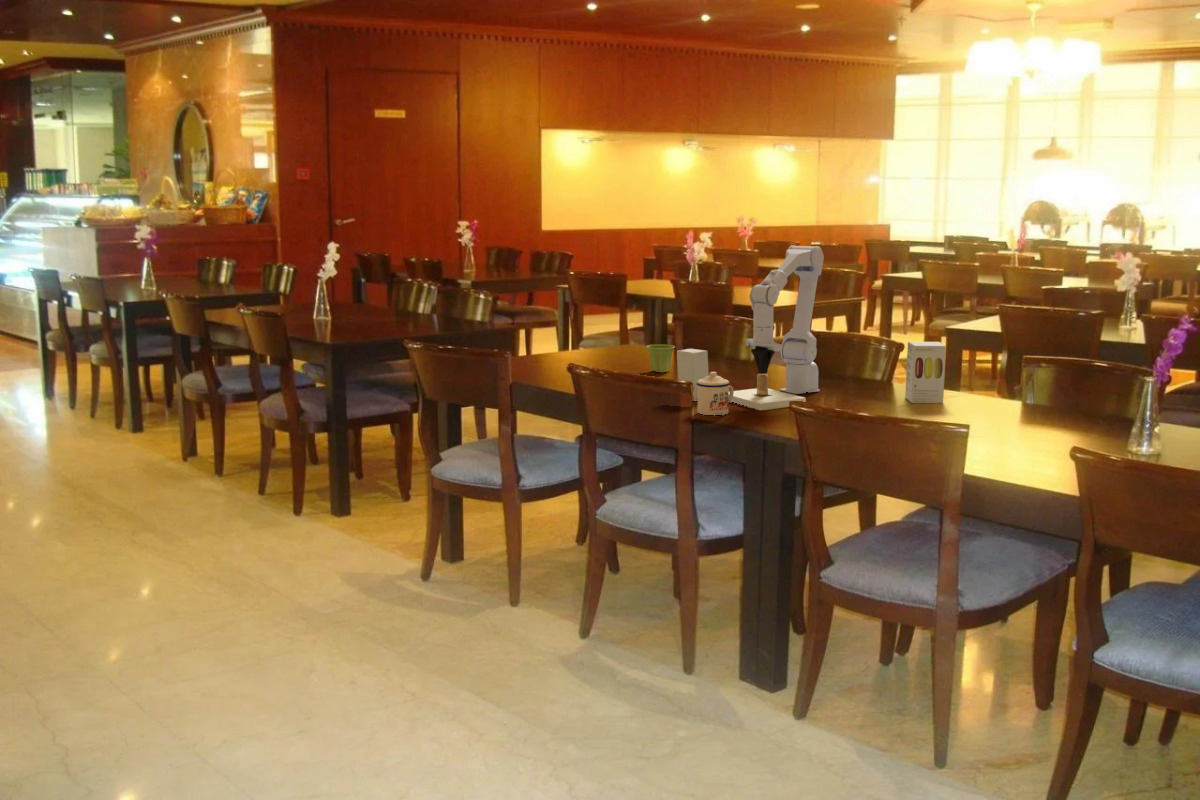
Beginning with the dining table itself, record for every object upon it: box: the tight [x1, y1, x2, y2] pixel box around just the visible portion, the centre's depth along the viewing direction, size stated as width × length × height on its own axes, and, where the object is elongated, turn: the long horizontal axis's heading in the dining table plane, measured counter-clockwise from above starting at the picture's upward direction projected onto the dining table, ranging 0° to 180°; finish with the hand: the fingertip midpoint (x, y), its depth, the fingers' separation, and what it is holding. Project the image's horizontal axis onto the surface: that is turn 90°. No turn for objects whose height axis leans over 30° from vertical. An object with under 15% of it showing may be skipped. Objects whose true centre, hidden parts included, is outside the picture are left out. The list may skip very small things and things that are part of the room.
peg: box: [756, 373, 769, 397], centre depth 351 cm, size 3×3×8 cm
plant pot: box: [646, 344, 676, 373], centre depth 406 cm, size 9×9×9 cm
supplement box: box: [904, 341, 947, 404], centre depth 350 cm, size 10×9×17 cm
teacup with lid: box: [697, 371, 735, 417], centre depth 337 cm, size 12×9×12 cm
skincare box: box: [676, 348, 710, 401], centre depth 356 cm, size 8×6×15 cm
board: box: [729, 387, 807, 411], centre depth 352 cm, size 16×20×2 cm
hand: (762, 372), depth 351 cm, fingers closed
